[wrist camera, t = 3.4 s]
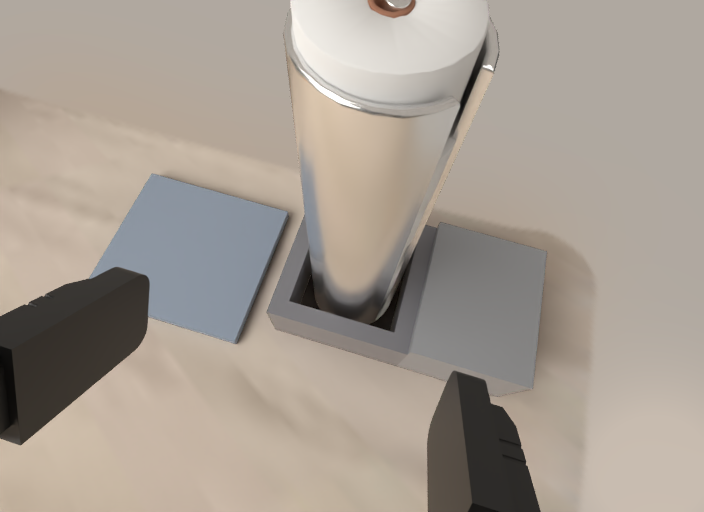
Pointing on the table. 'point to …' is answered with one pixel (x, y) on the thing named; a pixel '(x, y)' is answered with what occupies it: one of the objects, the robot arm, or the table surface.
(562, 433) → the table surface
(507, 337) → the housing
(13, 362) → the robot arm
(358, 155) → the chrome and white cylinder
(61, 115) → the table surface
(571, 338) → the table surface
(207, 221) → the rubber mat
